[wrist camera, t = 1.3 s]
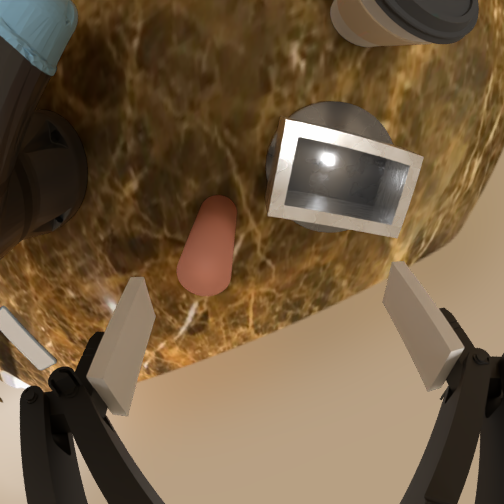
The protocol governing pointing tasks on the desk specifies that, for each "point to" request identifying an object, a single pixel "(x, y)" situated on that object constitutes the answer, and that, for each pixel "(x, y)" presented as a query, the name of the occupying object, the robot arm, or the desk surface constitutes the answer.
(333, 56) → the desk surface
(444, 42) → the coffee cup
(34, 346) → the smartphone
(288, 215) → the rosette bracket
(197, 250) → the pin
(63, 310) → the desk surface
